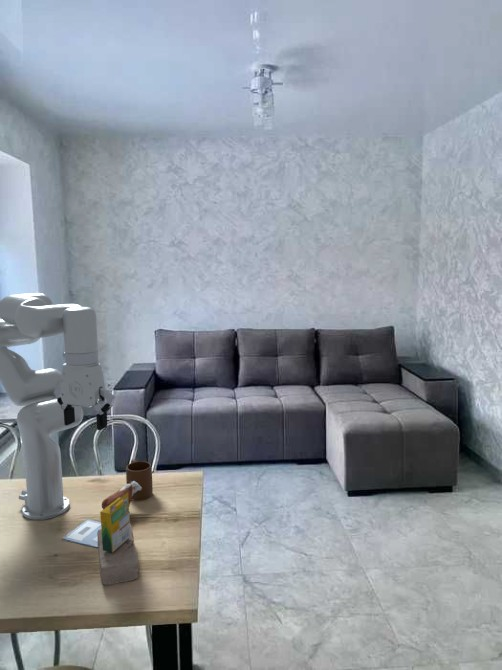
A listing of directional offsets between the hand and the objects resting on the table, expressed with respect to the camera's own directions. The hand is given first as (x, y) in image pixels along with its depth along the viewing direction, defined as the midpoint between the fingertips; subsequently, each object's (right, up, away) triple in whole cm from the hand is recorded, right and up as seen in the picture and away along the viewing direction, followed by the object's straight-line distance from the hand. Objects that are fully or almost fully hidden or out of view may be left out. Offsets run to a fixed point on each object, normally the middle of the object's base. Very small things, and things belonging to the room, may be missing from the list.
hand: (85, 426), depth 125 cm
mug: (+6, -26, +30) cm, 40 cm away
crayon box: (+9, -27, -5) cm, 29 cm away
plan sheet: (+1, -30, +7) cm, 30 cm away
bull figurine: (+5, -28, +17) cm, 33 cm away
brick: (+9, -32, -5) cm, 33 cm away
